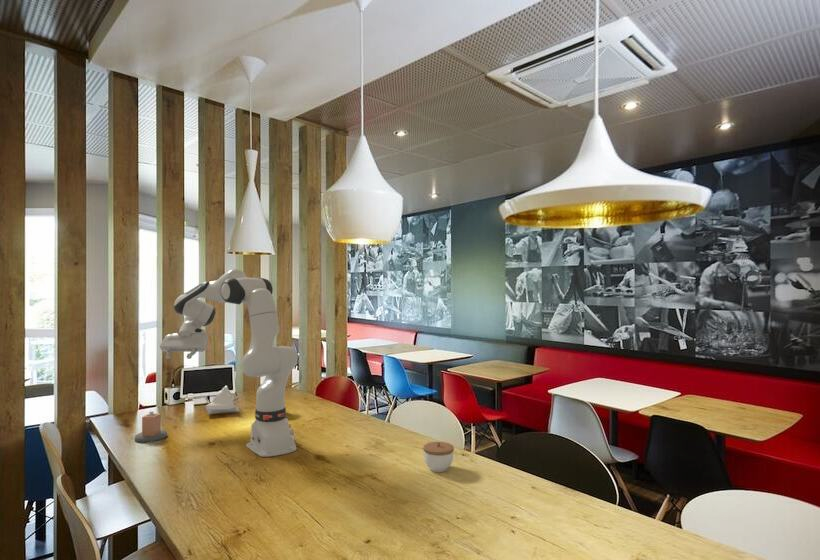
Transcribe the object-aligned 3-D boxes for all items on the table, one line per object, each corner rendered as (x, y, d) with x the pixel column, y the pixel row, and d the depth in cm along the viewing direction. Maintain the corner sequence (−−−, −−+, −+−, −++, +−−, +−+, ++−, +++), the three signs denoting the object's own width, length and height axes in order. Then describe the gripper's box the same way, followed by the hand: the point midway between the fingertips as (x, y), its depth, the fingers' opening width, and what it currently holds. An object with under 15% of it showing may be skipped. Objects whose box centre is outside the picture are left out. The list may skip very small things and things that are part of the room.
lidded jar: (428, 476, 154) (428, 448, 154) (419, 464, 164) (419, 438, 164) (458, 473, 157) (458, 445, 157) (447, 461, 167) (447, 435, 167)
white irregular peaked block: (207, 414, 232) (210, 385, 236) (238, 414, 237) (241, 386, 241) (205, 414, 221) (208, 384, 225) (237, 414, 225) (240, 385, 229)
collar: (160, 432, 194) (160, 413, 195) (154, 436, 189) (154, 417, 190) (148, 432, 194) (148, 413, 195) (142, 436, 189) (142, 417, 190)
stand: (167, 439, 190) (168, 413, 190) (134, 444, 184) (134, 417, 184) (166, 431, 200) (166, 406, 200) (134, 436, 194) (135, 410, 194)
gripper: (164, 329, 214) (152, 353, 204) (207, 329, 214) (198, 353, 205) (169, 338, 219) (157, 362, 209) (211, 338, 219) (202, 362, 209)
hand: (178, 358), depth 207 cm, fingers open, 8 cm apart
